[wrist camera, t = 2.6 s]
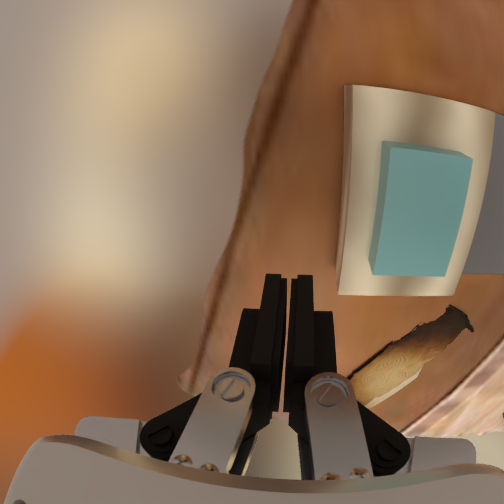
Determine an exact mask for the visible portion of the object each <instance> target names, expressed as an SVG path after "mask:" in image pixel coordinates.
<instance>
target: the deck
mask: <svg viewBox="0 0 504 504" xmlns="http://www.w3.org/2000/svg"><path fill="white" fill-rule="evenodd" d="M494 124H495V112H493V111H490V110H487V109H483V108H480V107H476V106H473V105H469V104H465V103H461V102H457V101H453V100H449V99H445V98H440V97H435V96H430V95H425V94H420V93H414V92H408V91H402V90H395V89H388V88H380V87H372V86H362V85H344V152H343V175H342V193H341V207H340V220H339V232H338V242H337V252H336V261H335V272H336V281H337V291H338V295H374V296H453V295H454V292H455V290H456V287H457V285H458V282H459V279H460V277H461V274H462V271H463V268H464V265H465V262H466V259H467V256H468V253H469V250H470V247H471V243H472V240H473V237H474V233H475V230H476V226H477V222H478V218H479V214H480V210H481V206H482V202H483V197H484V192H485V187H486V182H487V177H488V171H489V165H490V159H491V152H492V144H493V135H494ZM382 141H392V142H400V143H409V144H416V145H423V146H430V147H437V148H443V149H449V150H454V151H460V152H461V153H463V154H465V155H467V156H468V157H470V158H472V159H473V163H472V170H471V176H470V181H469V187H468V192H467V197H466V202H465V206H464V211H463V215H462V219H461V223H460V227H459V231H458V235H457V239H456V242H455V246H454V249H453V253H452V256H451V259H450V262H449V265H448V269H447V272H446V275H445V277H432V276H386V275H372V271H371V268H370V264H369V261H368V258H369V252H370V246H371V240H372V233H373V226H374V219H375V211H376V203H377V195H378V185H379V175H380V164H381V150H382Z"/></svg>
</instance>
